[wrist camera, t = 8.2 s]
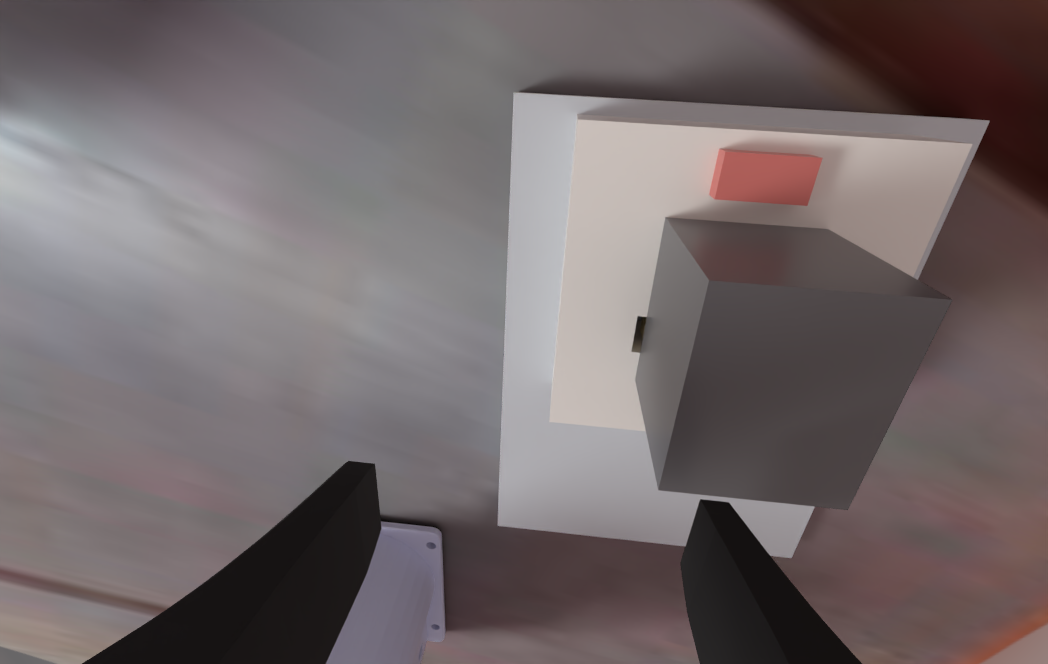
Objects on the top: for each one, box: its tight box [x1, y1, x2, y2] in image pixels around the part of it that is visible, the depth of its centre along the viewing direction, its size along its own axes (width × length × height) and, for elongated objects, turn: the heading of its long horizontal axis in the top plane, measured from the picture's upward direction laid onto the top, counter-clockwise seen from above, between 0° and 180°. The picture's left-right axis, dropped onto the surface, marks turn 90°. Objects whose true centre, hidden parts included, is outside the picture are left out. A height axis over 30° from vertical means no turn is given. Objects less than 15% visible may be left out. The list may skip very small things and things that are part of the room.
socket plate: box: [549, 114, 973, 431], centre depth 16 cm, size 10×10×3 cm
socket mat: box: [498, 92, 990, 558], centre depth 19 cm, size 19×14×1 cm
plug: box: [635, 217, 952, 510], centre depth 14 cm, size 4×7×6 cm, turn 177°
